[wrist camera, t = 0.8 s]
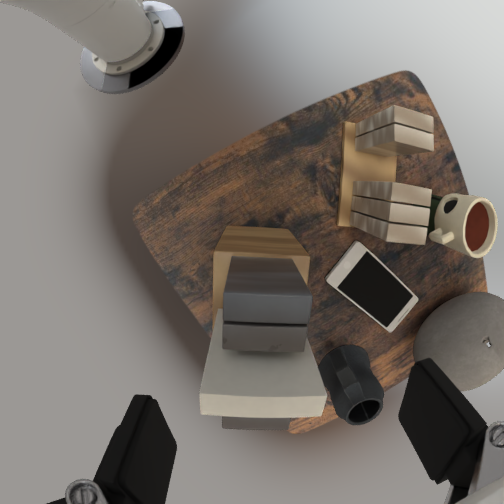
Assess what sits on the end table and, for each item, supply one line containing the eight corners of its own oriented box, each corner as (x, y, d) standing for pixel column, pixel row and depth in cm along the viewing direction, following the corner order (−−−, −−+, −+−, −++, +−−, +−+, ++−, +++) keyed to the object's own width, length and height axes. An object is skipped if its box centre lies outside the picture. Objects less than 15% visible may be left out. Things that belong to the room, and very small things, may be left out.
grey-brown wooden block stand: (342, 122, 33) (380, 100, 22) (393, 133, 33) (443, 119, 22) (336, 224, 37) (372, 243, 25) (387, 229, 37) (435, 248, 25)
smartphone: (356, 239, 37) (358, 240, 36) (416, 297, 39) (419, 299, 38) (323, 278, 38) (325, 281, 37) (388, 331, 41) (390, 333, 40)
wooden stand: (226, 225, 37) (195, 285, 15) (288, 228, 37) (339, 291, 15) (224, 309, 39) (202, 429, 18) (280, 312, 40) (306, 431, 18)
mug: (374, 370, 43) (399, 411, 32) (329, 394, 44) (344, 440, 33) (352, 322, 40) (380, 363, 29) (300, 350, 41) (314, 399, 30)
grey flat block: (218, 308, 24) (199, 393, 13) (298, 311, 24) (327, 395, 14) (218, 326, 25) (200, 414, 14) (295, 329, 25) (321, 416, 14)
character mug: (443, 180, 35) (501, 185, 22) (452, 222, 37) (508, 239, 24) (390, 203, 36) (445, 214, 23) (402, 248, 37) (455, 275, 25)
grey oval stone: (400, 354, 42) (452, 424, 24) (390, 327, 41) (449, 399, 22) (473, 297, 40) (538, 341, 22) (468, 267, 38) (541, 306, 20)
